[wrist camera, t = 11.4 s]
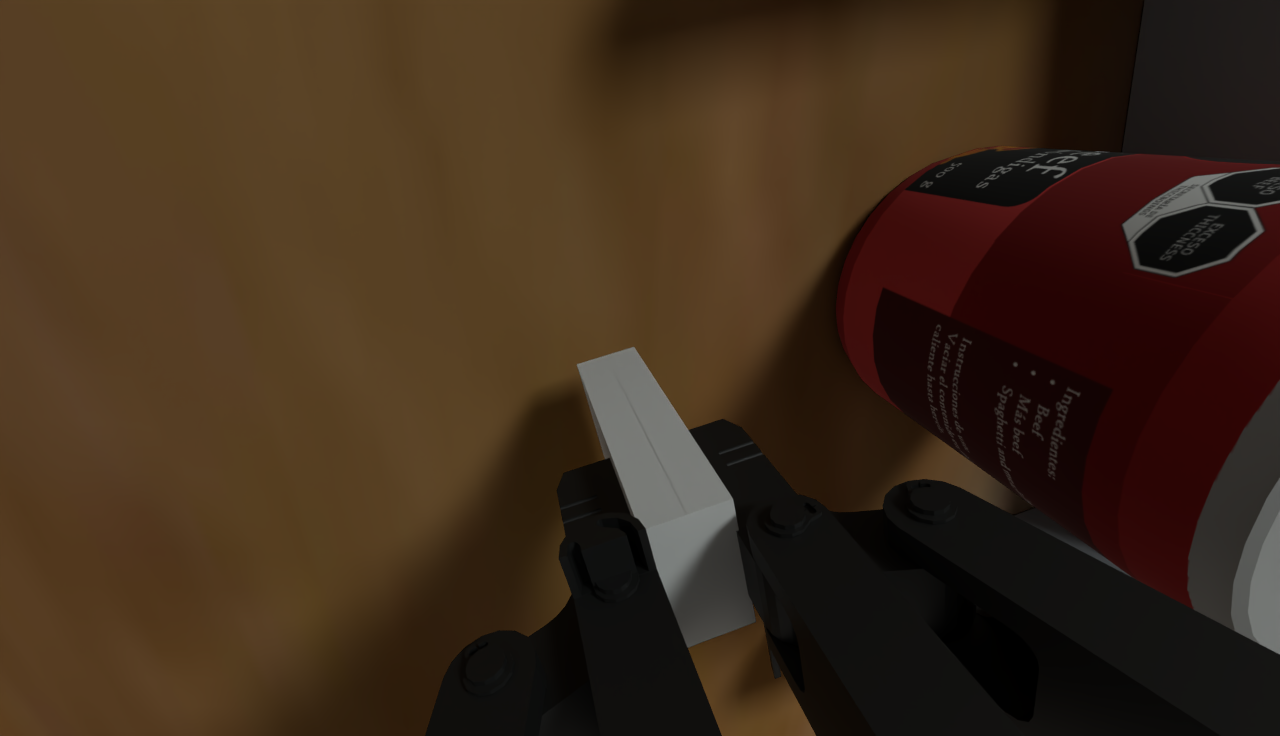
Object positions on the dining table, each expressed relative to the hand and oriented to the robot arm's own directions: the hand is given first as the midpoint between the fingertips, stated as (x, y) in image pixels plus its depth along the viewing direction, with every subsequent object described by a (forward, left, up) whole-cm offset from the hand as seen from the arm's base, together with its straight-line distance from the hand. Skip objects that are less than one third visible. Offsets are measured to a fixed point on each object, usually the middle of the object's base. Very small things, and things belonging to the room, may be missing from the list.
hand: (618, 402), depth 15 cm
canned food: (0, +11, -2) cm, 11 cm away
